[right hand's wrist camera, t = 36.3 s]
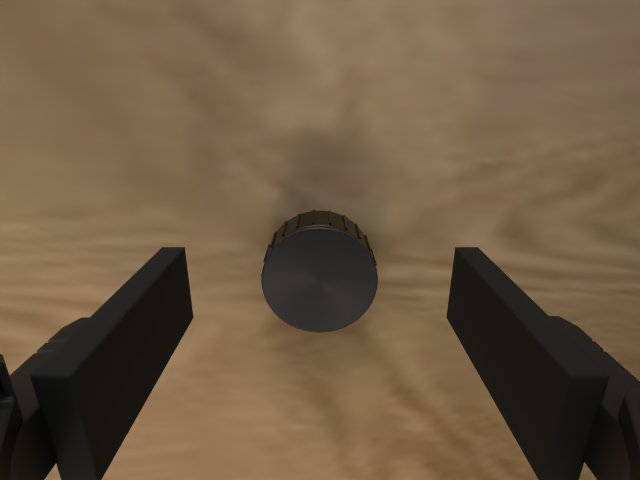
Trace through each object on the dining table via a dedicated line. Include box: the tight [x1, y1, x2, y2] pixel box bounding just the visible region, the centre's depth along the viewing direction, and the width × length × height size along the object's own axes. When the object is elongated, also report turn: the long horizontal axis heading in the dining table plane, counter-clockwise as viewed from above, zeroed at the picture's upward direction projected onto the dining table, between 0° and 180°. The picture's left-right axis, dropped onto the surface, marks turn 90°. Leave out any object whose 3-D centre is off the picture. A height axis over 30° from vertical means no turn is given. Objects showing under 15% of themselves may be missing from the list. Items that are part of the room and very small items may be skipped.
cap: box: [261, 210, 378, 332], centre depth 15 cm, size 4×4×2 cm
